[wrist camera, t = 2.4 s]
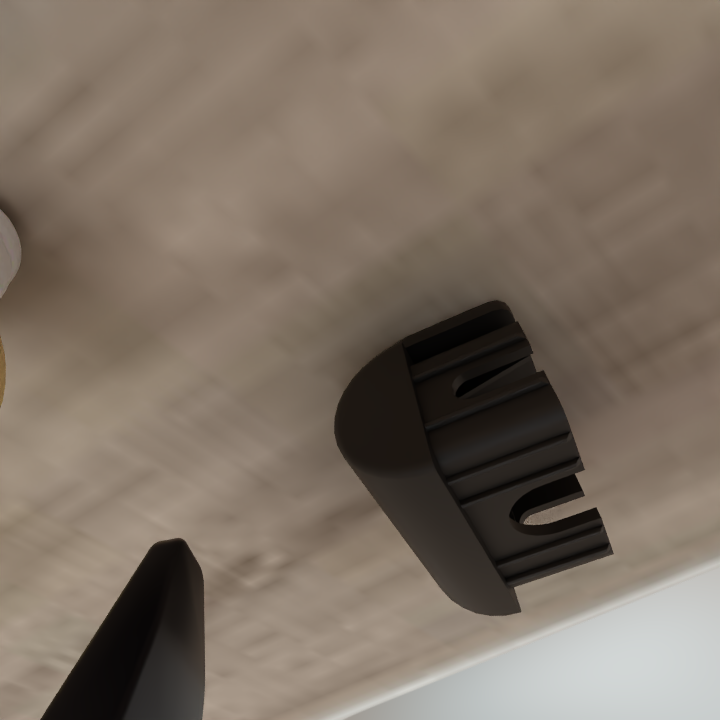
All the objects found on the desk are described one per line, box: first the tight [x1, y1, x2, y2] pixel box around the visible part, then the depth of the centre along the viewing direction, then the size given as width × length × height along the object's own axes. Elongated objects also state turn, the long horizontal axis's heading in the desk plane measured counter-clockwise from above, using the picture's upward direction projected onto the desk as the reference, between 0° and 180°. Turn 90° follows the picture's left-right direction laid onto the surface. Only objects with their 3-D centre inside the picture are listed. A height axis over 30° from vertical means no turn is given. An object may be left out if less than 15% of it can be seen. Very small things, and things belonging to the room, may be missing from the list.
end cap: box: [334, 301, 614, 616], centre depth 23 cm, size 10×7×7 cm
